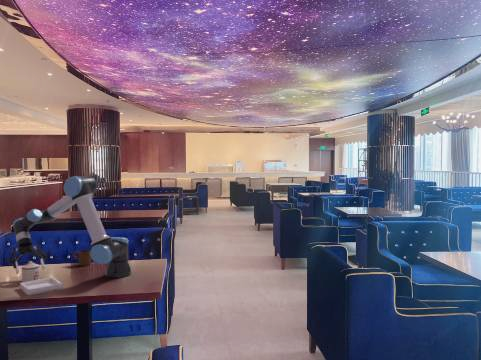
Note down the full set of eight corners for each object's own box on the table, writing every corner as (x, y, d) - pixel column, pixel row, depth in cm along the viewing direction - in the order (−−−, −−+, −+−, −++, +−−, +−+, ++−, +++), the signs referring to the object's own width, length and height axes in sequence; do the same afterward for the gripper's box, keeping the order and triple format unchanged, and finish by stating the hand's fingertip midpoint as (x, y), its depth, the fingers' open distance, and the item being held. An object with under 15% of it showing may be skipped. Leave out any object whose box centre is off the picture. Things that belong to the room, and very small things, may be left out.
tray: (62, 289, 216) (62, 283, 216) (28, 295, 205) (28, 290, 205) (53, 282, 229) (53, 277, 229) (20, 288, 218) (20, 282, 218)
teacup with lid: (37, 283, 227) (36, 263, 227) (19, 284, 225) (19, 263, 225) (42, 277, 239) (42, 258, 239) (26, 278, 237) (25, 259, 237)
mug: (70, 266, 267) (70, 252, 267) (74, 263, 274) (74, 249, 274) (88, 266, 268) (88, 252, 267) (92, 263, 275) (92, 249, 275)
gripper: (44, 242, 253) (52, 270, 242) (-1, 247, 236) (5, 277, 225) (47, 234, 248) (55, 263, 238) (1, 239, 232) (7, 270, 221)
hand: (30, 270), depth 231 cm, fingers open, 13 cm apart
